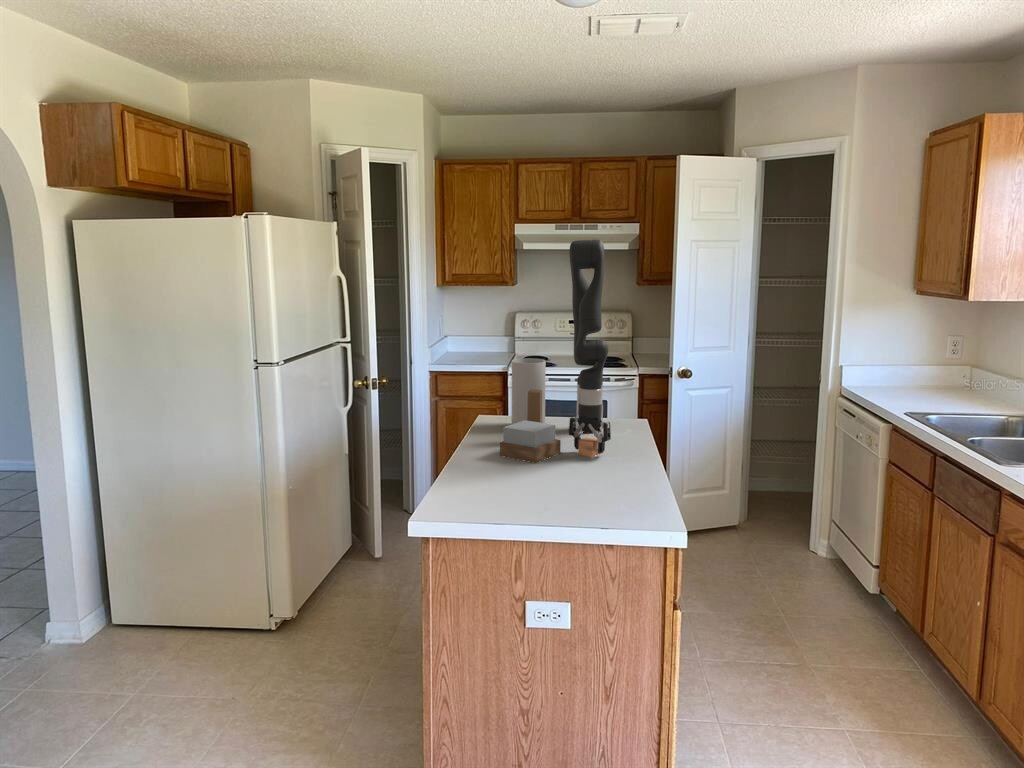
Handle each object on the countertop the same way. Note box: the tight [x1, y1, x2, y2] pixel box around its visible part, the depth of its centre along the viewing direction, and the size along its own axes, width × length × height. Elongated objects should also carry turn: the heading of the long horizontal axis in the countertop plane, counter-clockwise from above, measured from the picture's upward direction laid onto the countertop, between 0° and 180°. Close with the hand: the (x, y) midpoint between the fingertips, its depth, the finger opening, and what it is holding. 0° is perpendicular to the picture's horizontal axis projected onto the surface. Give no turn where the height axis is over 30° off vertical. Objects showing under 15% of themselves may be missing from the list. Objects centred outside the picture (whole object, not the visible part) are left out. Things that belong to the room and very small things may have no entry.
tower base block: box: [499, 438, 562, 464], centre depth 238 cm, size 14×14×5 cm
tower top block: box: [503, 420, 556, 448], centre depth 237 cm, size 12×12×5 cm
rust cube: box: [577, 436, 600, 458], centre depth 238 cm, size 5×5×5 cm
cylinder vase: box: [511, 357, 547, 425], centre depth 274 cm, size 12×12×25 cm
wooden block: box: [527, 390, 543, 423], centre depth 252 cm, size 9×4×18 cm, turn 80°
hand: (589, 451), depth 239 cm, fingers open, 8 cm apart
